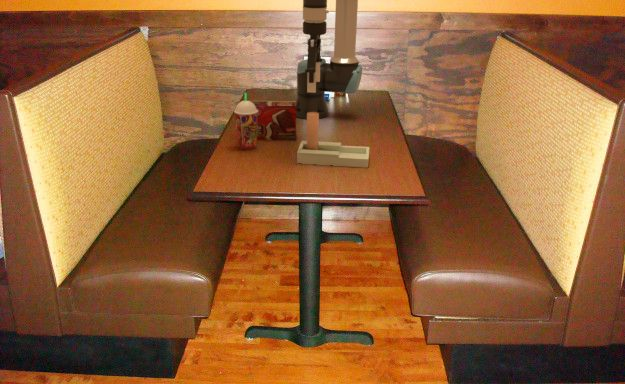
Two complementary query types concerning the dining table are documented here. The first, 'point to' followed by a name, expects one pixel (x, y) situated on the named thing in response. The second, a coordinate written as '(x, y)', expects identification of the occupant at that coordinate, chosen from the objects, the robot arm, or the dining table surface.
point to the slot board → (343, 160)
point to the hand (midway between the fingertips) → (313, 86)
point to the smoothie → (246, 124)
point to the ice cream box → (276, 120)
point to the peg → (312, 130)
